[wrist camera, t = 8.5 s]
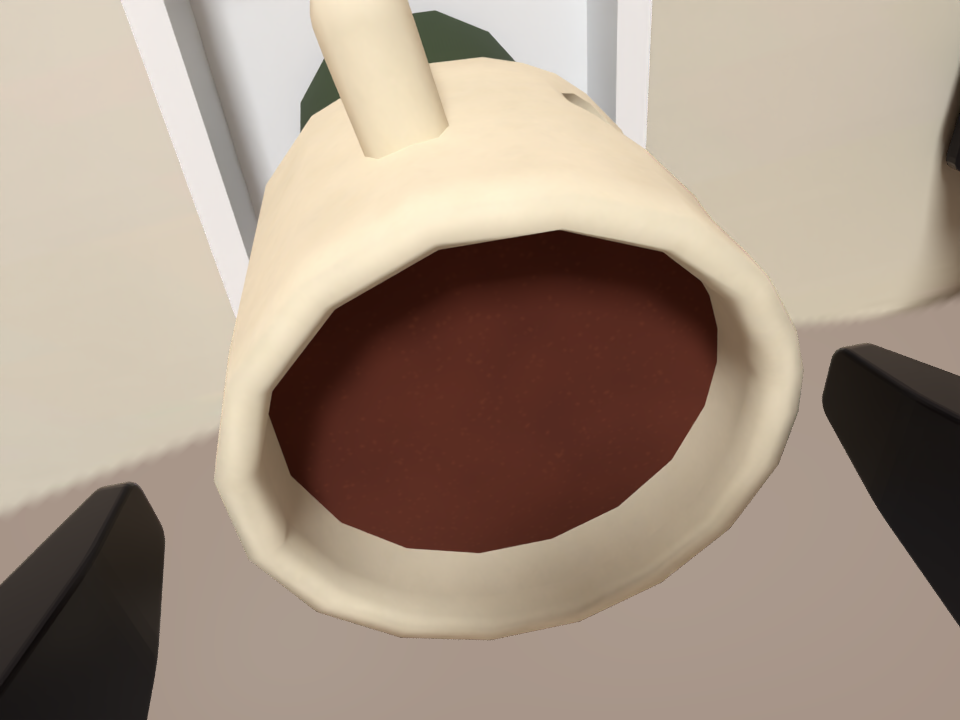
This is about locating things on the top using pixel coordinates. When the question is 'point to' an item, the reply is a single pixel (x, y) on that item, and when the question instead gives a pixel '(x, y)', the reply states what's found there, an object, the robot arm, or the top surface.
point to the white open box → (296, 59)
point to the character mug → (486, 347)
